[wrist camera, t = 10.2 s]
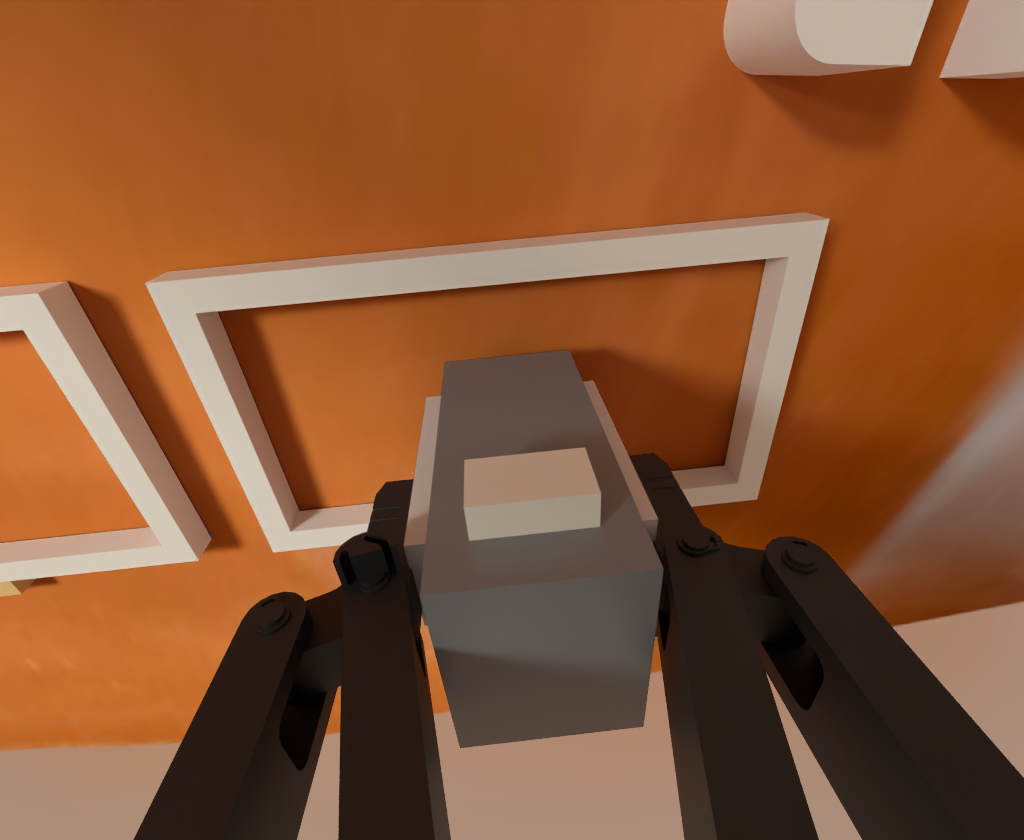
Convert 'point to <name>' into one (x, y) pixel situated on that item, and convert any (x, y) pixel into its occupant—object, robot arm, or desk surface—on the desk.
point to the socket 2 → (204, 292)
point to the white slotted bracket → (869, 37)
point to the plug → (535, 558)
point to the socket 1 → (120, 438)
